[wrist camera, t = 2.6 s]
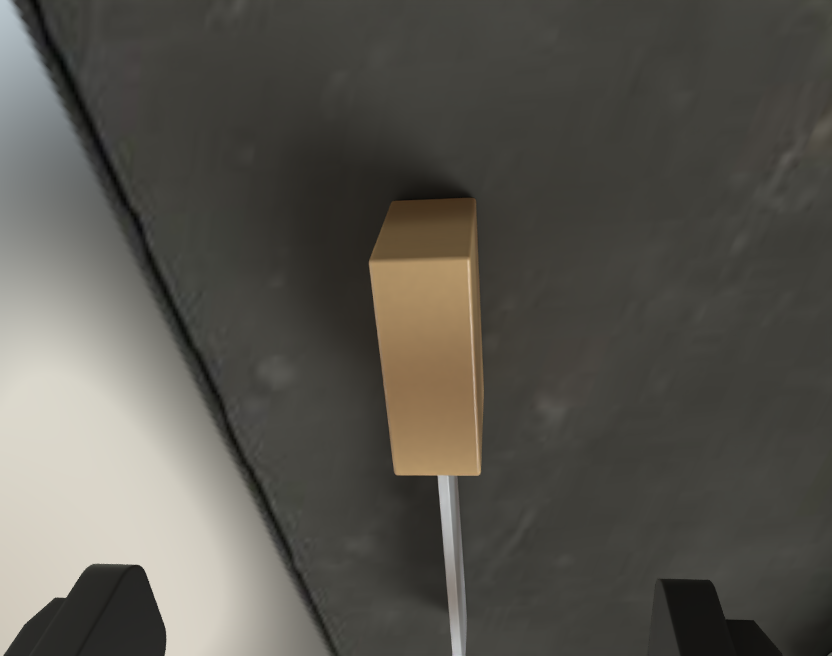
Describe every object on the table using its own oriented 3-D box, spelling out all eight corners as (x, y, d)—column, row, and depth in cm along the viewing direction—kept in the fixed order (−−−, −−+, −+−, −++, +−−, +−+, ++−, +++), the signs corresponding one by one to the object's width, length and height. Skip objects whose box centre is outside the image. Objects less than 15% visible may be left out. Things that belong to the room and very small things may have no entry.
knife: (390, 199, 19) (367, 260, 16) (476, 196, 19) (470, 256, 15) (432, 618, 27) (423, 717, 23) (493, 620, 26) (492, 720, 23)
